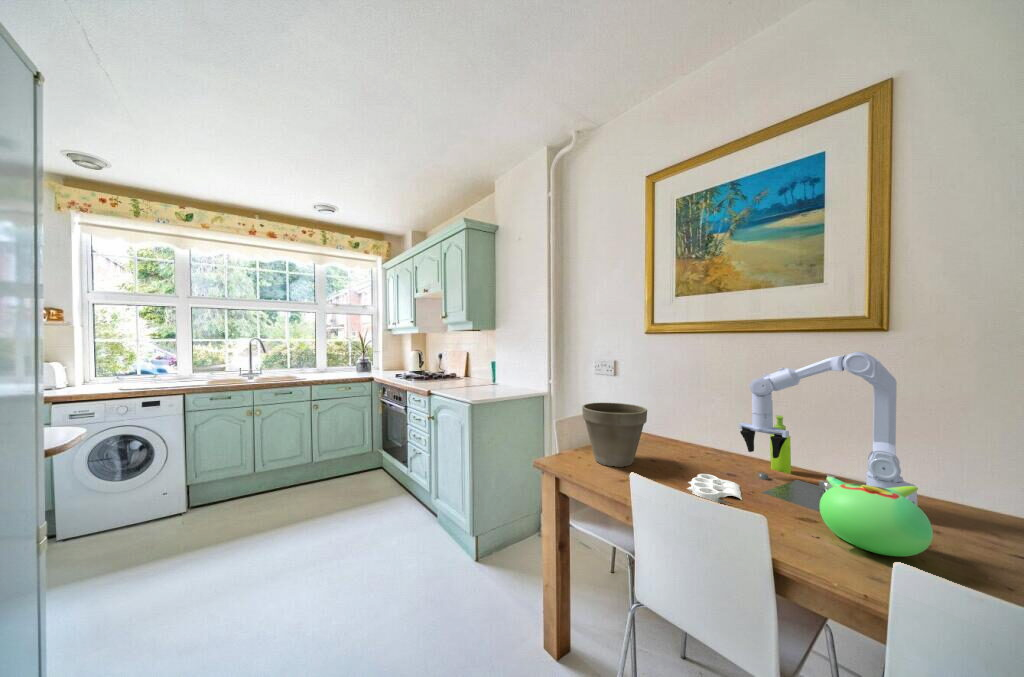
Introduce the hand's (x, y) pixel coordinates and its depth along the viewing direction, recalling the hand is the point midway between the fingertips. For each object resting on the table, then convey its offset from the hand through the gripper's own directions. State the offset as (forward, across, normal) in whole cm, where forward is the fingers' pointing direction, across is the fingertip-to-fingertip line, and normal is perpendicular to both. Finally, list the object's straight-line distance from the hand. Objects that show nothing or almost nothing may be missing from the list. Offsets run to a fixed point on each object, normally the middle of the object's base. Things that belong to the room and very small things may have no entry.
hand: (763, 454), depth 121 cm
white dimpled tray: (+10, -3, -23) cm, 25 cm away
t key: (+8, +15, +8) cm, 18 cm away
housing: (+9, +13, -2) cm, 16 cm away
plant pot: (+10, -41, -27) cm, 50 cm away
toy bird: (+10, +33, -20) cm, 40 cm away
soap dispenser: (+10, -3, +17) cm, 20 cm away
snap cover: (+10, 0, 0) cm, 10 cm away
